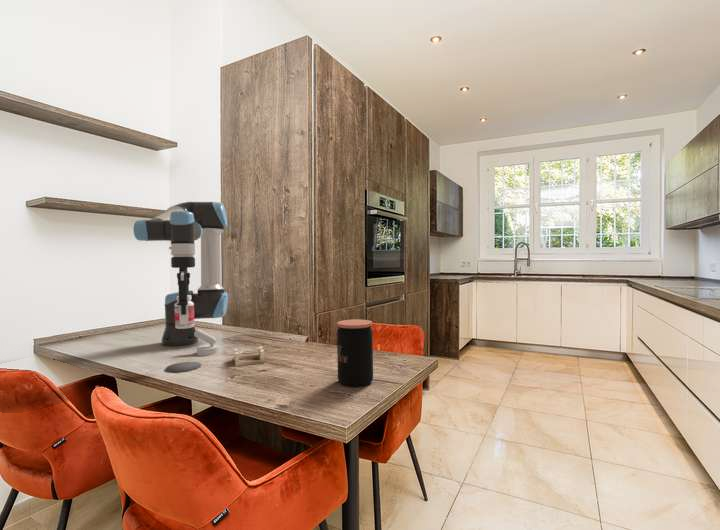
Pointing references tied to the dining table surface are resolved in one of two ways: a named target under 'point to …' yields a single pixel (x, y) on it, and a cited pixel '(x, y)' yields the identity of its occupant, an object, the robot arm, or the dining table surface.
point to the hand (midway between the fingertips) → (184, 322)
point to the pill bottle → (190, 314)
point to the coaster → (183, 367)
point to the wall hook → (207, 349)
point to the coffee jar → (355, 352)
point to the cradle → (260, 355)
